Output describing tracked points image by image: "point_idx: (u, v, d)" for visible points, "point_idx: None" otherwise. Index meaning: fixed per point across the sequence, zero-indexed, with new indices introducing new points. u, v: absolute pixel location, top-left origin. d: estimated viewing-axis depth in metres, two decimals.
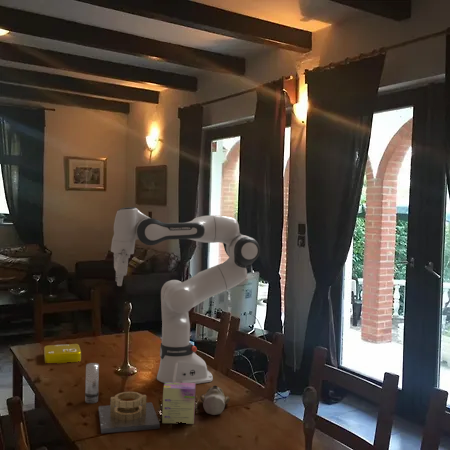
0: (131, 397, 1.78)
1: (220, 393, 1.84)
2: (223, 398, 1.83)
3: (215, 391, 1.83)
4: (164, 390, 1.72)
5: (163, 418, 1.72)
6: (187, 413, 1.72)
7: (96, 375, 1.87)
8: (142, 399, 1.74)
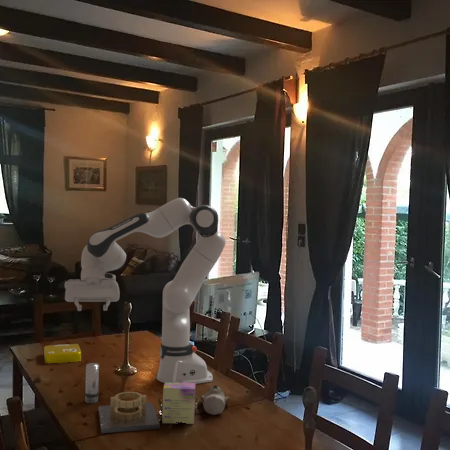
0: (131, 397, 1.78)
1: (220, 393, 1.84)
2: (223, 398, 1.83)
3: (215, 391, 1.83)
4: (164, 390, 1.72)
5: (163, 418, 1.72)
6: (187, 413, 1.72)
7: (96, 375, 1.87)
8: (142, 399, 1.74)
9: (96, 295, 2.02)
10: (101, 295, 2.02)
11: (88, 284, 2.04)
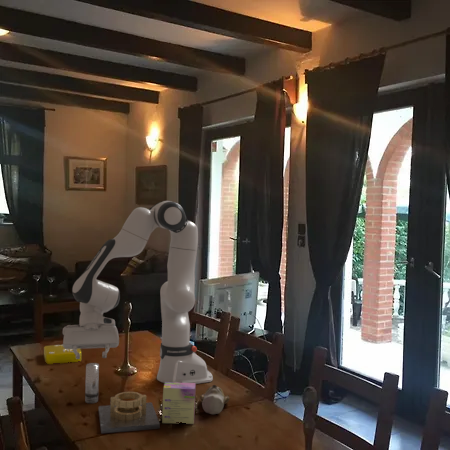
0: (131, 397, 1.78)
1: (219, 393, 1.84)
2: (222, 398, 1.84)
3: (214, 390, 1.83)
4: (164, 390, 1.72)
5: (163, 418, 1.72)
6: (187, 413, 1.72)
7: (96, 375, 1.87)
8: (142, 399, 1.74)
9: (95, 342, 1.97)
10: (100, 341, 1.98)
11: (87, 330, 1.99)
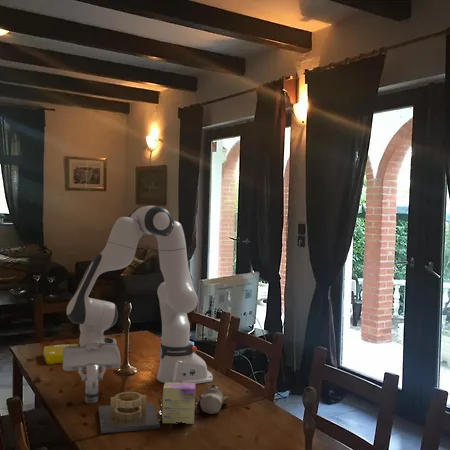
0: (131, 397, 1.78)
1: (218, 392, 1.84)
2: (220, 397, 1.84)
3: (212, 390, 1.84)
4: (164, 390, 1.72)
5: (163, 418, 1.72)
6: (187, 413, 1.72)
7: (96, 375, 1.87)
8: (142, 399, 1.74)
9: None
10: (101, 362, 1.91)
11: (87, 351, 1.93)
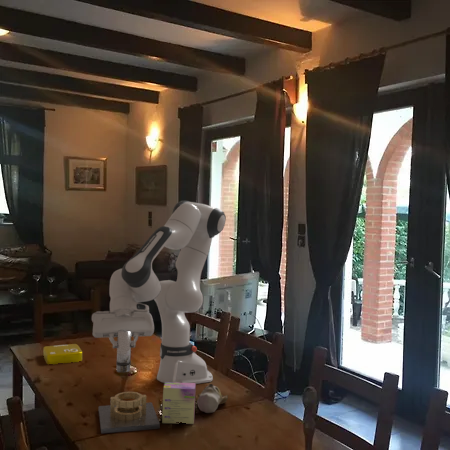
0: (131, 397, 1.78)
1: (215, 392, 1.85)
2: (218, 397, 1.84)
3: (210, 389, 1.84)
4: (164, 390, 1.72)
5: (163, 418, 1.72)
6: (187, 413, 1.72)
7: (128, 342, 1.74)
8: (142, 399, 1.74)
9: (128, 329, 1.77)
10: (134, 329, 1.77)
11: (118, 317, 1.79)
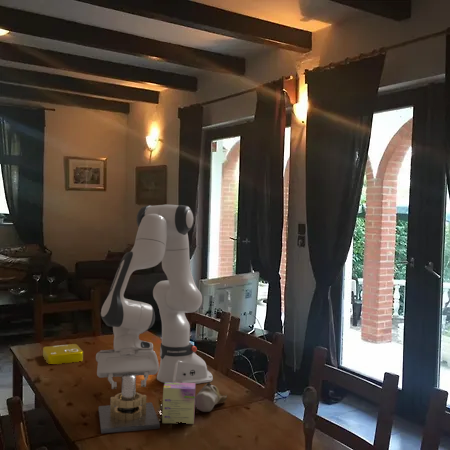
0: None
1: (212, 391, 1.85)
2: (215, 396, 1.85)
3: (207, 388, 1.85)
4: (164, 390, 1.72)
5: (163, 418, 1.72)
6: (187, 413, 1.72)
7: (133, 387, 1.73)
8: (142, 399, 1.74)
9: (132, 369, 1.76)
10: (138, 368, 1.77)
11: (123, 356, 1.78)
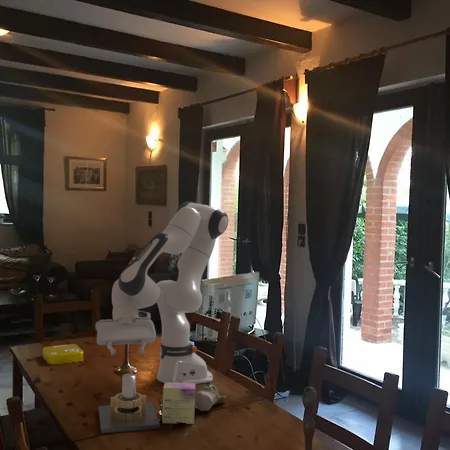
0: None
1: (211, 391, 1.86)
2: (213, 396, 1.85)
3: (205, 388, 1.85)
4: (164, 390, 1.72)
5: (163, 418, 1.72)
6: (187, 413, 1.72)
7: (133, 387, 1.73)
8: (142, 399, 1.74)
9: (131, 337, 1.84)
10: (136, 336, 1.85)
11: (121, 325, 1.86)
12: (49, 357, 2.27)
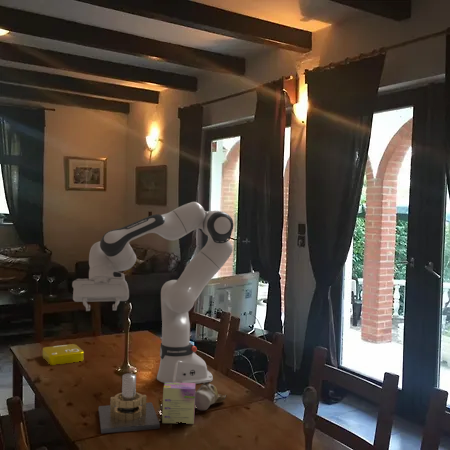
0: None
1: (209, 390, 1.86)
2: (212, 395, 1.85)
3: (204, 387, 1.86)
4: (164, 390, 1.72)
5: (163, 418, 1.72)
6: (187, 413, 1.72)
7: (133, 387, 1.73)
8: (142, 399, 1.74)
9: (105, 294, 1.96)
10: (110, 294, 1.96)
11: (96, 283, 1.98)
12: (50, 357, 2.26)
